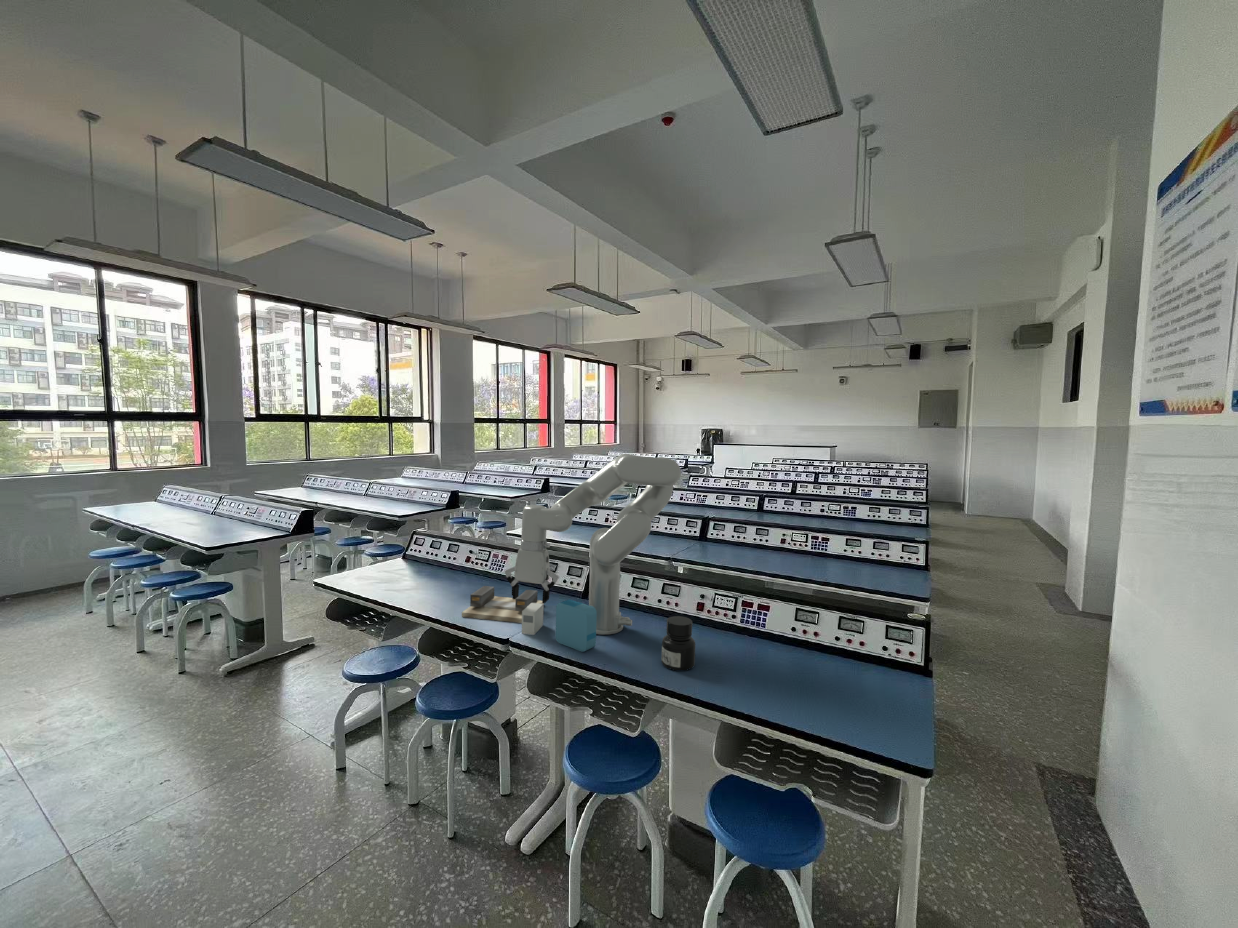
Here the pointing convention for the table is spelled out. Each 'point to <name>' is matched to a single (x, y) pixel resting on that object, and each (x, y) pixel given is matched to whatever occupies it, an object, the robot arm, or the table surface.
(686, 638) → the ink bottle
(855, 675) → the table surface
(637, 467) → the robot arm
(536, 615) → the block
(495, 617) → the rail board
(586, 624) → the light blue flat block
